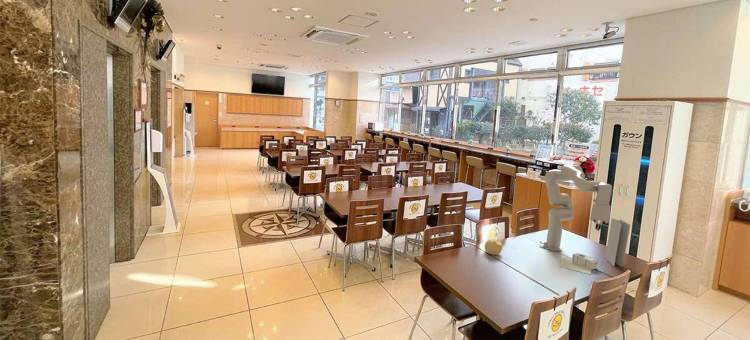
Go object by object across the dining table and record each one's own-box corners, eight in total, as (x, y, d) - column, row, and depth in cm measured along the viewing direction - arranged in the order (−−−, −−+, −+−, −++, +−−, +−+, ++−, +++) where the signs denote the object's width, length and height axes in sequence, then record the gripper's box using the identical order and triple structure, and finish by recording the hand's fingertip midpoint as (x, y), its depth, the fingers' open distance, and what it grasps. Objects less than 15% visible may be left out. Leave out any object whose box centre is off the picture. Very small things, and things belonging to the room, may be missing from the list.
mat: (559, 266, 238) (559, 266, 238) (563, 257, 254) (563, 257, 254) (590, 274, 228) (590, 274, 228) (592, 264, 245) (592, 264, 245)
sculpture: (503, 257, 249) (504, 242, 247) (485, 255, 250) (486, 240, 249) (500, 251, 260) (501, 237, 258) (483, 249, 262) (484, 235, 260)
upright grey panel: (622, 267, 243) (630, 224, 238) (613, 266, 244) (621, 223, 239) (613, 259, 257) (620, 218, 252) (605, 258, 258) (611, 218, 253)
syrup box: (593, 261, 234) (572, 253, 247) (592, 270, 235) (571, 261, 248) (598, 260, 237) (577, 252, 249) (597, 268, 238) (576, 260, 250)
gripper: (588, 201, 230) (584, 228, 233) (616, 206, 222) (611, 234, 225) (589, 199, 237) (584, 226, 240) (616, 203, 228) (611, 231, 231)
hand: (597, 230), depth 232 cm, fingers closed
